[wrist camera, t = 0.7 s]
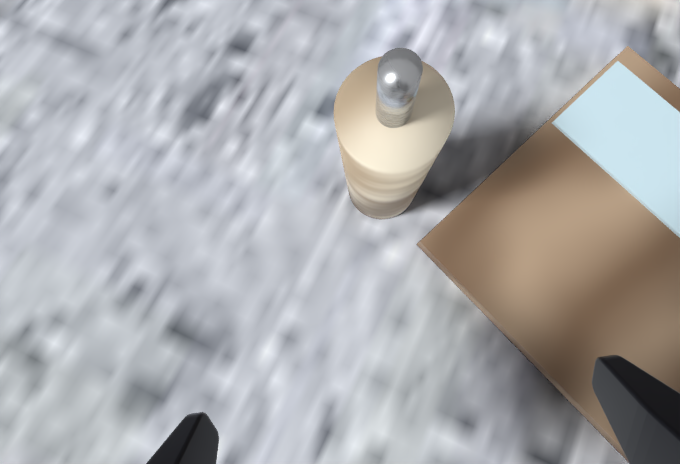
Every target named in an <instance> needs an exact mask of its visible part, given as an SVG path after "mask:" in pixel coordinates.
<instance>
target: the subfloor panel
mask: <svg viewBox="0 0 680 464" xmlns="http://www.w3.org/2000/svg"><path fill="white" fill-rule="evenodd" d="M417 245H418V246H419V248H420V249H421V250H422V251H423V252H424V253H425V254H426V255H427V256H428V257H429V258H430V259H431V260H432V261H433V262H434V263H435V264H436V265H437V266H438V267H439V268H440V269H441V270H442V271H443V272H444V273H445V274H446V275H447V276H448V277H449V278H450V279H451V280H452V281H453V282H454V283H455V284H456V286H457V287H458V288H459V289H460V290H461V291H462V292H463V293H464V294H465V295H466V296H467V297H468V298H469V299H470V300H471V301H472V302H473V303H474V304H475V305H476V306H477V307H478V308H479V309H480V310H481V311H482V312H483V313H484V314H485V315H486V316H487V317H488V318H489V319H490V320H491V321H492V322H493V323H494V325H495V326H496V327H497V328H498V329H499V330H500V331H501V332H502V333H503V334H504V335H505V336H506V337H507V338H508V339H509V340H510V341H511V342H512V343H513V344H514V345H515V346H516V347H517V348H518V349H519V350H520V351H521V352H522V353H523V354H524V355H525V356H526V357H527V358H528V359H529V360H530V361H531V363H532V364H533V365H534V366H535V367H536V368H537V369H538V370H539V371H540V372H541V373H542V374H543V375H544V376H545V377H546V378H547V379H548V380H549V381H550V382H551V383H552V384H553V385H554V386H555V387H556V388H557V389H558V390H559V391H560V392H561V393H562V394H563V395H564V396H565V397H566V398H567V399H568V401H569V402H570V403H571V404H572V405H573V406H574V407H575V408H576V409H577V410H578V411H579V412H580V413H581V414H582V415H583V416H584V417H585V418H586V419H587V420H588V421H589V422H590V423H591V424H592V425H593V426H594V427H595V428H596V429H597V430H598V431H599V432H600V433H601V434H602V435H603V436H604V437H605V438H606V440H607V441H608V442H609V443H610V444H611V445H612V446H613V447H614V448H615V449H616V450H617V451H618V452H619V453H620V454H621V455H622V456H623V457H624V458H625V459H626V460H627V458H626V456H625V454H624V452H623V450H622V448H621V446H620V444H619V442H618V440H617V437H616V435H615V433H614V431H613V429H612V427H611V425H610V423H609V421H608V419H607V417H606V415H605V413H604V411H603V409H602V407H601V405H600V403H599V401H598V399H597V397H596V395H595V393H594V390H593V387H592V376H593V371H594V365H595V360H596V359H597V358H598V357H601V356H608V355H619V356H621V357H623V358H625V359H626V360H628V361H630V362H631V363H633V364H634V365H636V366H637V367H639V368H641V369H642V370H644V371H645V372H647V373H649V374H650V375H652V376H653V377H655V378H657V379H658V380H660V381H661V382H663V383H665V384H666V385H668V386H669V387H671V388H672V389H674V390H676V391H677V392H679V393H680V89H679V88H678V87H677V86H676V85H674V84H673V83H672V82H671V81H670V80H668V79H667V78H666V77H665V76H664V75H662V74H661V73H660V72H659V71H657V70H656V69H655V68H654V67H653V66H651V65H650V64H649V63H648V62H647V61H645V60H644V59H643V58H642V57H640V56H639V55H638V54H637V53H636V52H634V51H633V50H632V49H631V48H630V47H628V46H627V47H626V48H625V49H624V50H623V51H622V52H621V53H620V54H618V55H617V56H616V57H615V58H614V59H613V60H612V61H611V62H610V63H609V64H607V65H606V66H605V67H604V68H603V69H602V70H601V71H600V72H599V73H598V74H597V75H596V76H595V77H594V78H593V79H592V80H590V81H589V82H588V83H587V84H586V85H585V86H584V87H583V88H582V89H581V90H580V91H579V92H578V93H577V94H576V95H575V96H573V97H572V98H571V99H570V100H569V101H568V102H567V103H566V104H565V105H564V106H563V107H562V108H561V109H560V110H559V111H558V112H556V113H555V114H554V115H553V116H552V117H551V118H550V119H549V120H548V121H547V122H546V123H545V124H544V125H543V126H542V127H541V128H539V129H538V130H537V131H536V132H535V133H534V134H533V135H532V136H531V137H530V138H529V139H528V140H527V141H526V142H525V143H524V144H522V145H521V146H520V147H519V148H518V149H517V150H516V151H515V152H514V153H513V154H512V155H511V156H510V157H509V158H508V159H507V160H505V161H504V162H503V163H502V164H501V165H500V166H499V167H498V168H497V169H496V170H495V171H494V172H493V173H492V174H491V175H490V176H488V177H487V178H486V179H485V180H484V181H483V182H482V183H481V184H480V185H479V186H478V187H477V188H476V189H475V190H474V191H473V192H471V193H470V194H469V195H468V196H467V197H466V198H465V199H464V200H463V201H462V202H461V203H460V204H459V205H458V206H457V207H456V208H454V209H453V210H452V211H451V212H450V213H449V214H448V215H447V216H446V217H445V218H444V219H443V220H442V221H441V222H440V223H439V224H437V225H436V226H435V227H434V228H433V229H432V230H431V231H430V232H429V233H428V234H427V235H426V236H425V237H424V238H423V239H422V240H420V241H419V242H418V243H417ZM627 461H628V460H627ZM628 462H629V461H628Z"/></svg>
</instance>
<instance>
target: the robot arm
mask: <svg viewBox="0 0 680 464" xmlns="http://www.w3.org/2000/svg"><path fill="white" fill-rule="evenodd" d="M592 387H593V390H594V393H595V395H596V397H597V399H598V401H599V403H600V405H601V407H602V409H603V411H604V413H605V415H606V417H607V419H608V421H609V423H610V425H611V427H612V429H613V431H614V433H615V435H616V437H617V440H618V442H619V444H620V446H621V448H622V450H623V452H624V454H625V456H626V458H627V460H628V461H629V463H630V464H680V393H679V392H677V391H676V390H674V389H672V388H671V387H669V386H668V385H666V384H665V383H663V382H661V381H660V380H658V379H657V378H655V377H653V376H652V375H650V374H649V373H647V372H645V371H644V370H642V369H641V368H639V367H637V366H636V365H634V364H633V363H631V362H630V361H628V360H626V359H625V358H623V357H621V356H619V355H608V356H601V357H598V358H597V359H596V360H595V365H594V371H593V376H592ZM218 443H219V436H218V432H217V429H216V428H215V426H214V425H213V423H212V422H211V420H210V419H209V417H208V415H207V414H206V413H204V412H200V413H193V414H189V415H187V416H186V417H185V418H184V419H183V420H182V421H181V423H180V424H179V425H178V426H177V427H176V429H175V430H174V431H173V432H172V433H171V435H170V436H169V437H168V438H167V439H166V441H165V442H164V443H163V444H162V445H161V447H160V448H159V449H158V450H157V451H156V453H155V454H154V455H153V456H152V457H151V459H150V460H149V461H148V462H147V463H146V464H216V459H217V451H218Z"/></svg>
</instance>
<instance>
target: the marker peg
mask: <svg viewBox="0 0 680 464" xmlns="http://www.w3.org/2000/svg"><path fill="white" fill-rule="evenodd" d="M454 115H455V108H454V100H453V96H452V93H451V91H450V88H449V86H448V84H447V83H446V81H445V80H444V78H443V77H442V76H441V75H440V74H439V73H438V72H437V71H436V70H435V69H434V68H433V67H431V66H430V65H428V64H426V63H425V62H423V61H421V59H420V58H419V56H418V55H417V54H416V53H415V52H413V51H411V50H409V49H406V48H396V49H392V50H390V51H388V52H387V53H385V54H384V55H383V56H382V57H378V58H375V59H372V60H370V61H367V62H365V63H364V64H362V65H360V66H359V67H357V68H356V69H355V70H354V71H352V72H351V73H350V75H349V76H348V77H347V78H346V79H345V81H344V82H343V83H342V85H341V87H340V89H339V91H338V93H337V96H336V100H335V104H334V121H335V127H336V132H337V137H338V142H339V147H340V151H341V156H342V161H343V166H344V171H345V176H346V181H347V186H348V191H349V195H350V198H351V200H352V202H353V204H354V206H355V207H356V208H357V209H358V210H359V211H360V212H362V213H363V214H364V215H366V216H368V217H371V218H375V219H389V218H392V217H395V216H397V215H399V214H401V213H402V212H403V211H405V210H406V209H407V208H408V207H409V205H410V204H411V202H412V200H413V199H414V197H415V195H416V193H417V191H418V190H419V188H420V186H421V184H422V183H423V181H424V179H425V177H426V175H427V174H428V172H429V170H430V168H431V167H432V165H433V163H434V161H435V160H436V158H437V156H438V154H439V152H440V151H441V149H442V147H443V145H444V144H445V142H446V140H447V138H448V136H449V134H450V132H451V129H452V127H453V122H454Z"/></svg>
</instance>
